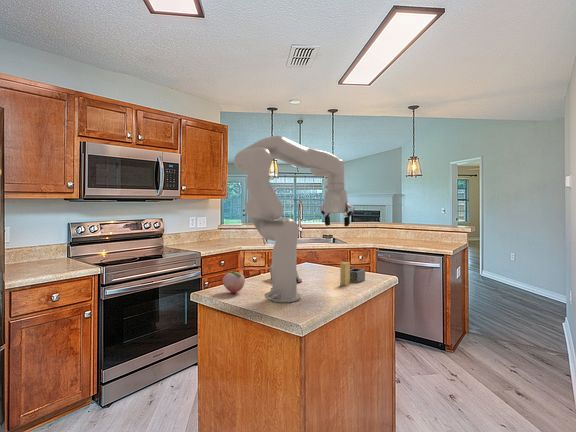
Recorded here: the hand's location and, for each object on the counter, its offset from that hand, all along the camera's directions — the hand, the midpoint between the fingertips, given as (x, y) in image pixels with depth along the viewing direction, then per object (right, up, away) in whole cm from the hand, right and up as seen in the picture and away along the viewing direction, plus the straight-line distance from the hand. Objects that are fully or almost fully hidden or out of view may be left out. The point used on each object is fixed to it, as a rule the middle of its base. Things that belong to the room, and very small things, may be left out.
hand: (337, 225), depth 152 cm
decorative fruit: (-44, -28, -12) cm, 53 cm away
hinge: (-24, -27, +9) cm, 37 cm away
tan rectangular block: (+4, -27, +1) cm, 27 cm away
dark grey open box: (+10, -26, +9) cm, 30 cm away
